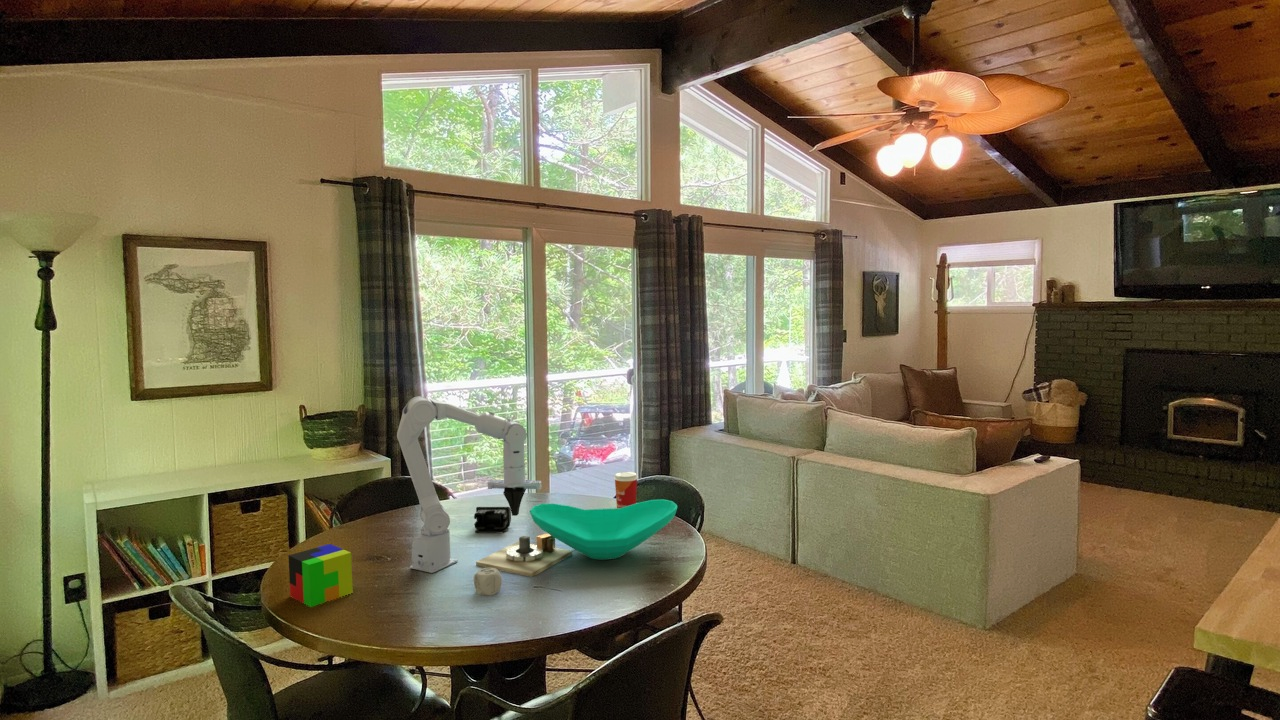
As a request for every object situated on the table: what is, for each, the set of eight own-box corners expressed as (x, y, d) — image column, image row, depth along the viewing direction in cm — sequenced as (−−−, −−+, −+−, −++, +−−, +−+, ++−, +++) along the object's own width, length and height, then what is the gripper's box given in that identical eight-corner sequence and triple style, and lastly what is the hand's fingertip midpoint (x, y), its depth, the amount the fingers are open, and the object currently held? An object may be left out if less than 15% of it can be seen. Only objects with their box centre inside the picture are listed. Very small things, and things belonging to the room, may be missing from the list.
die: (482, 597, 164) (482, 576, 163) (473, 591, 168) (473, 570, 167) (502, 592, 167) (501, 571, 166) (493, 586, 171) (492, 565, 170)
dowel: (550, 553, 190) (550, 540, 190) (545, 552, 191) (545, 539, 191) (554, 551, 192) (553, 538, 191) (549, 550, 192) (548, 537, 192)
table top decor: (670, 536, 206) (670, 491, 205) (685, 571, 179) (685, 519, 178) (533, 541, 202) (532, 496, 202) (527, 578, 175) (526, 526, 174)
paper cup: (611, 515, 228) (611, 472, 226) (634, 513, 230) (633, 470, 229) (618, 522, 220) (617, 478, 219) (641, 519, 222) (641, 475, 221)
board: (532, 576, 176) (531, 553, 175) (476, 565, 184) (475, 542, 184) (572, 554, 192) (571, 532, 191) (518, 544, 200) (518, 523, 200)
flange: (520, 564, 181) (520, 550, 181) (499, 554, 188) (498, 541, 188) (563, 551, 191) (563, 537, 190) (541, 542, 198) (541, 529, 198)
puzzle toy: (331, 583, 173) (330, 543, 173) (352, 593, 167) (351, 552, 166) (290, 596, 166) (288, 555, 165) (310, 608, 159) (308, 564, 159)
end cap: (511, 525, 218) (510, 504, 218) (506, 533, 211) (505, 510, 211) (479, 525, 218) (478, 504, 218) (473, 533, 211) (472, 511, 211)
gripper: (483, 468, 189) (485, 518, 190) (536, 469, 188) (537, 519, 189) (491, 463, 196) (492, 511, 197) (542, 463, 195) (543, 511, 196)
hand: (515, 514), depth 194 cm, fingers closed
